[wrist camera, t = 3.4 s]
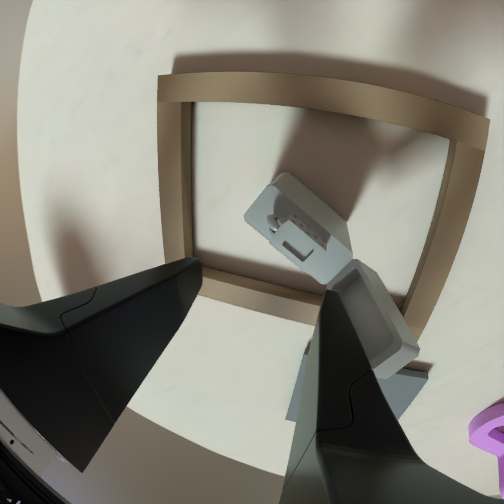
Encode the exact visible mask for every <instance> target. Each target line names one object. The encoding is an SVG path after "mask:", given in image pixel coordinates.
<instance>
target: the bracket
mask: <svg viewBox="0 0 504 504" xmlns="http://www.w3.org/2000/svg"><path fill="white" fill-rule="evenodd" d="M499 426H504V402H503V403H499V404H496V405H494V406H492V407H490V408H488V409H486V410H484V411H483V412H481V413H480V414H478V415H477V416H476V417H475V418H474V419H473V420H472V421H471V422H470V424H469V427H468V430H469V442H470V444H472V445H474V446H476V447H478V448H480V449H482V450H485V451H487V452H489V453H492V454H494V455H496V456H497V458H498V467H499V488H500V494H501V496H502V498H503V499H504V433H501V432H499V431H498V430H496V429H494V428H496V427H499Z"/></svg>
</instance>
